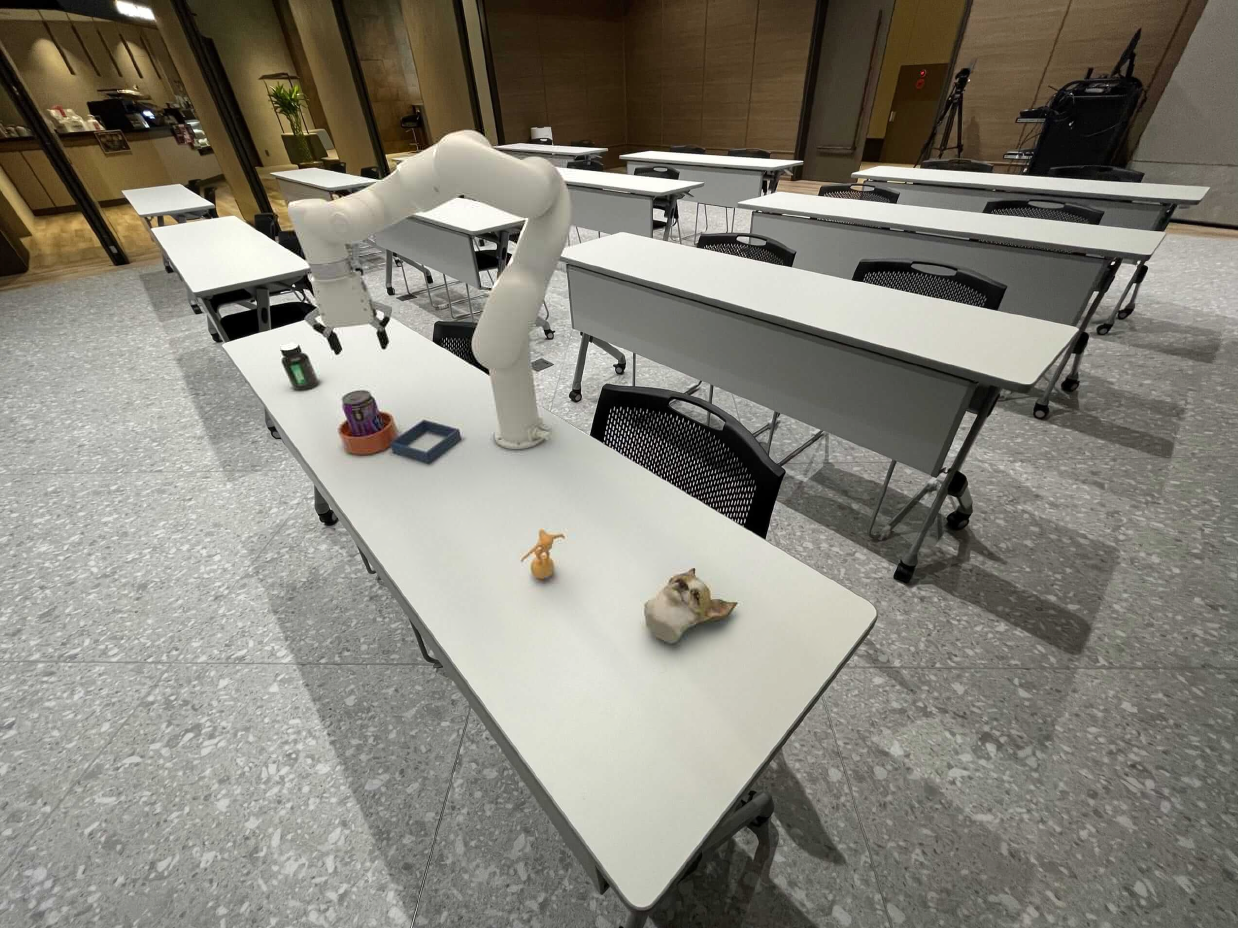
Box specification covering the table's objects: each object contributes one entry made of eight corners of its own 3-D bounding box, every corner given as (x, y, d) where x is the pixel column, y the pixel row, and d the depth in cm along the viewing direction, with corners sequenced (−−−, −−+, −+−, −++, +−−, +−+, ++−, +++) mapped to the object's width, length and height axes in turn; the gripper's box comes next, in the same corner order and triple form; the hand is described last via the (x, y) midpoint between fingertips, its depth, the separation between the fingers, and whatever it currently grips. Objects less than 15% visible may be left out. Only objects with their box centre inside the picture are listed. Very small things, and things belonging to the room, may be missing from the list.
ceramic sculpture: (625, 583, 74) (695, 540, 82) (623, 621, 79) (689, 577, 87) (676, 631, 67) (747, 580, 75) (670, 670, 72) (737, 617, 80)
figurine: (557, 556, 91) (550, 506, 83) (576, 576, 87) (571, 525, 80) (517, 579, 86) (506, 529, 79) (535, 601, 83) (526, 550, 75)
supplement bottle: (309, 391, 144) (292, 352, 137) (288, 390, 145) (270, 351, 138) (324, 380, 150) (308, 342, 143) (303, 379, 151) (287, 341, 144)
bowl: (409, 434, 125) (404, 417, 122) (371, 461, 116) (364, 443, 113) (373, 424, 129) (367, 407, 126) (334, 449, 120) (326, 431, 117)
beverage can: (377, 449, 119) (360, 405, 112) (350, 446, 120) (332, 402, 113) (393, 433, 124) (378, 390, 117) (368, 430, 126) (351, 388, 119)
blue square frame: (461, 439, 122) (459, 429, 121) (429, 464, 114) (426, 453, 113) (426, 429, 126) (423, 419, 125) (393, 453, 118) (389, 442, 117)
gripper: (380, 260, 104) (405, 338, 114) (292, 268, 102) (325, 348, 112) (373, 269, 98) (400, 351, 108) (279, 279, 96) (315, 361, 106)
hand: (362, 349), depth 110 cm, fingers open, 9 cm apart
